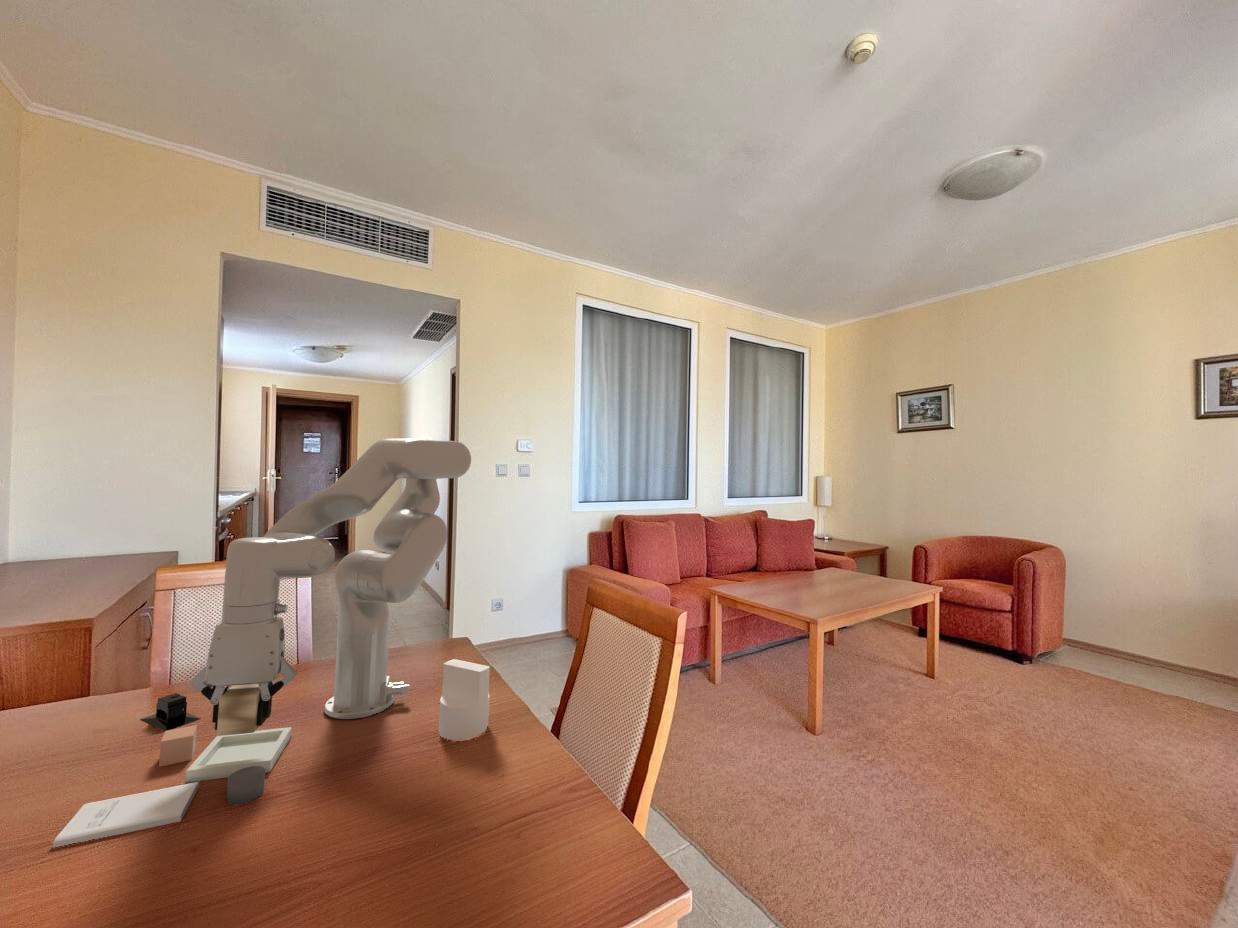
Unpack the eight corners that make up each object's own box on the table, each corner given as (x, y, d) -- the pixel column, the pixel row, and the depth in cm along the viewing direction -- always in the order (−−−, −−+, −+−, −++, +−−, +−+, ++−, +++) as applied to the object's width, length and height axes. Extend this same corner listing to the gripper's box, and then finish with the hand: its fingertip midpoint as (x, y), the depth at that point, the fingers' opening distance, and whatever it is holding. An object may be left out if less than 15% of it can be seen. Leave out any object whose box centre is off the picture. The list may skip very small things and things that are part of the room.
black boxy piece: (210, 721, 95) (212, 697, 96) (163, 739, 89) (164, 713, 89) (175, 707, 101) (177, 684, 101) (128, 722, 94) (129, 697, 94)
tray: (291, 737, 90) (291, 726, 90) (270, 771, 80) (271, 760, 80) (217, 745, 86) (218, 734, 86) (185, 782, 76) (186, 770, 76)
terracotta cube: (195, 748, 85) (196, 724, 86) (191, 760, 82) (193, 735, 82) (164, 755, 83) (165, 730, 83) (159, 767, 80) (160, 741, 80)
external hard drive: (180, 825, 68) (51, 853, 62) (198, 791, 75) (84, 812, 70) (181, 813, 68) (52, 839, 62) (199, 779, 75) (85, 800, 70)
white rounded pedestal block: (427, 734, 93) (431, 668, 93) (460, 714, 101) (463, 653, 101) (467, 745, 89) (470, 677, 90) (497, 723, 98) (500, 661, 98)
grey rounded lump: (268, 783, 77) (269, 763, 77) (257, 801, 72) (259, 780, 73) (233, 788, 75) (235, 768, 75) (221, 807, 71) (222, 785, 71)
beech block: (264, 718, 86) (267, 683, 86) (253, 732, 81) (256, 694, 81) (229, 721, 84) (232, 685, 85) (216, 736, 80) (219, 697, 80)
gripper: (314, 605, 90) (306, 709, 89) (199, 608, 84) (189, 719, 84) (302, 616, 83) (294, 729, 82) (176, 620, 77) (165, 741, 76)
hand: (241, 723), depth 83 cm, fingers closed on beech block, 5 cm apart
